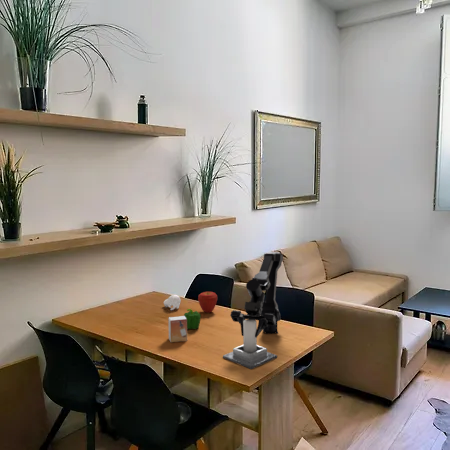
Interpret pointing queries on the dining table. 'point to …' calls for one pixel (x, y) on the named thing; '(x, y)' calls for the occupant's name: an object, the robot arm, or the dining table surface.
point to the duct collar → (250, 357)
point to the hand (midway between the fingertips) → (249, 336)
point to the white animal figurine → (172, 302)
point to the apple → (207, 301)
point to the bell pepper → (192, 319)
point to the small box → (177, 329)
